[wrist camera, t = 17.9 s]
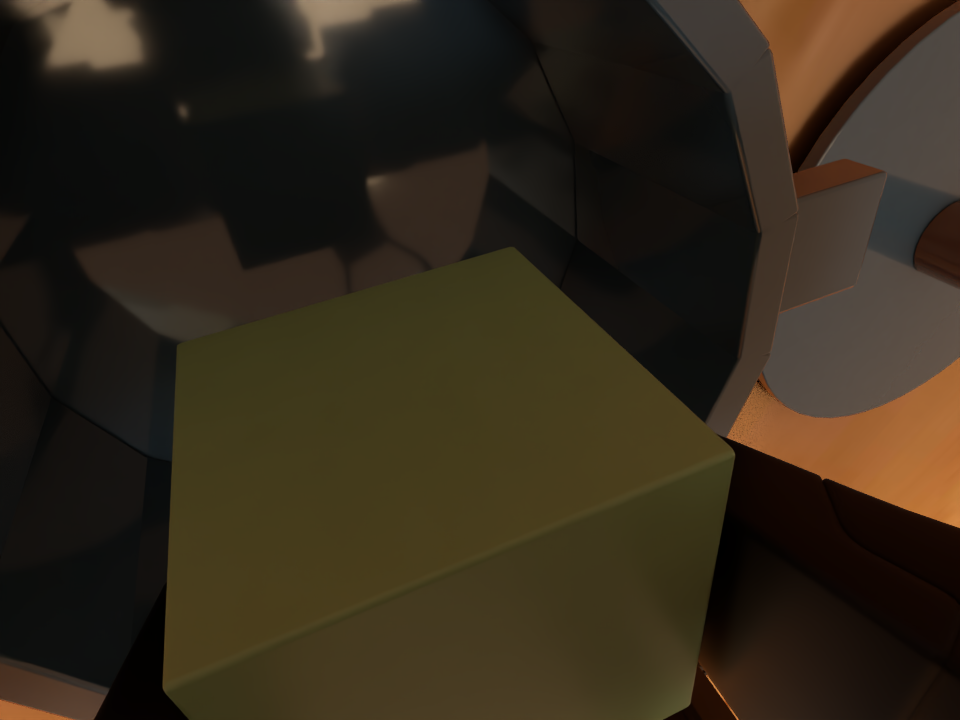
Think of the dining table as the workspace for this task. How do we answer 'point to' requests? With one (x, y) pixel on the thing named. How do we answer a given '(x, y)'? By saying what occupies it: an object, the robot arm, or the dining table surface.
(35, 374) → the pot
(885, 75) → the lid
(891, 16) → the dining table surface
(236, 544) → the block
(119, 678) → the robot arm
